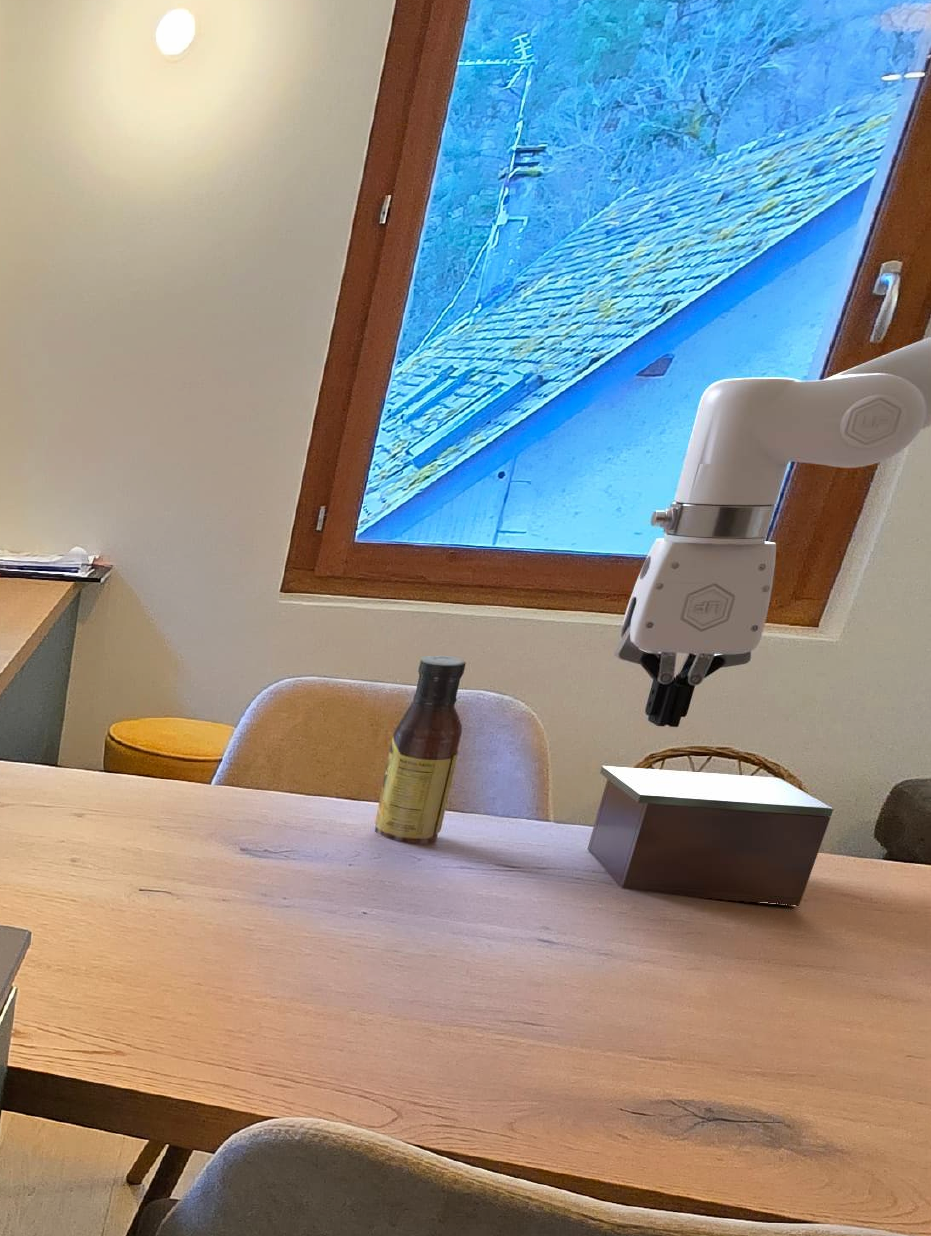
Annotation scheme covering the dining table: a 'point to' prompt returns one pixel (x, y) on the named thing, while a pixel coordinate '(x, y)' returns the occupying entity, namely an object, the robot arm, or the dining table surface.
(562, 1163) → the dining table surface
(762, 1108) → the dining table surface
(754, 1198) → the dining table surface
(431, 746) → the sauce bottle
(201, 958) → the dining table surface
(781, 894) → the chest
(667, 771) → the lid
